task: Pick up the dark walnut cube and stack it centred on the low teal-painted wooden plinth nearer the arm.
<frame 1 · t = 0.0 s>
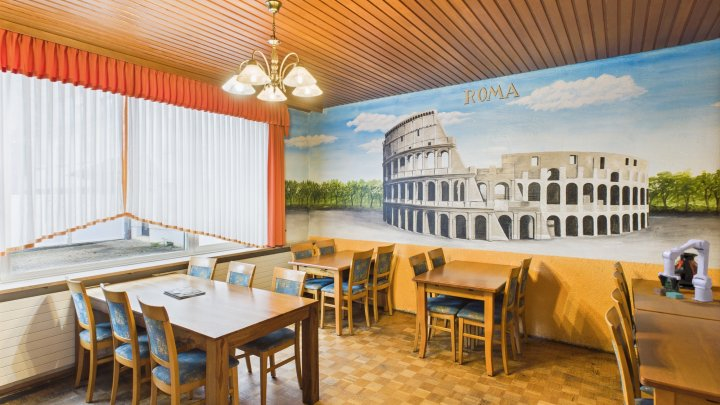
hand: (668, 287, 264), 10 cm above the table, fingers open, 7 cm apart
coffee jar: (671, 292, 291), on the table
teal plinth: (674, 297, 276), on the table
amphora vase: (686, 287, 306), on the table
walnut cube: (659, 294, 283), on the table
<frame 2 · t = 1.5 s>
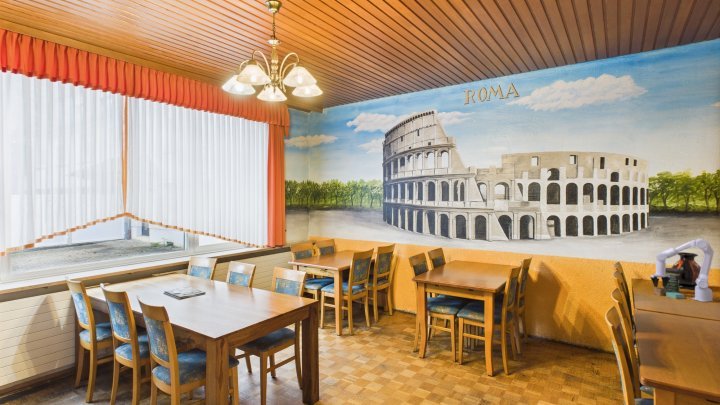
hand: (659, 286, 283), 6 cm above the table, fingers open, 7 cm apart
nothing on the table moved.
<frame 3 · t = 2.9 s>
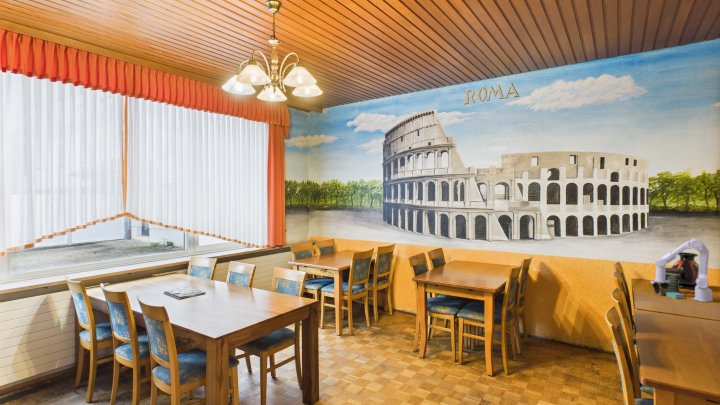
hand: (659, 292, 283), 1 cm above the table, fingers closed on walnut cube, 5 cm apart
walnut cube: (659, 294, 283), on the table, touching gripper
everything else where it was.
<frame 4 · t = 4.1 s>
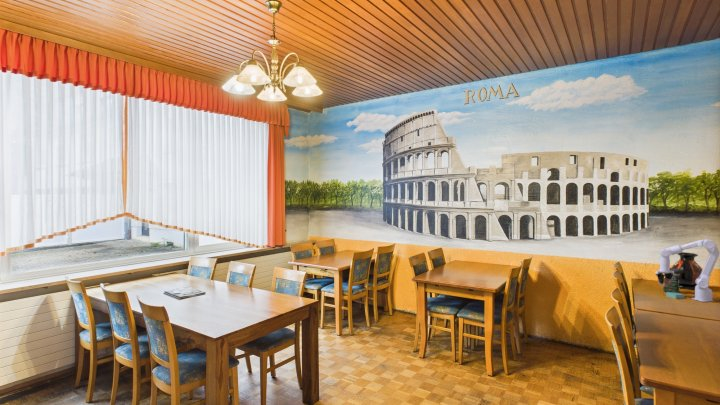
hand: (664, 283, 281), 9 cm above the table, fingers closed on walnut cube, 5 cm apart
walnut cube: (664, 285, 281), point 8 cm above the table, touching gripper
everything else where it was.
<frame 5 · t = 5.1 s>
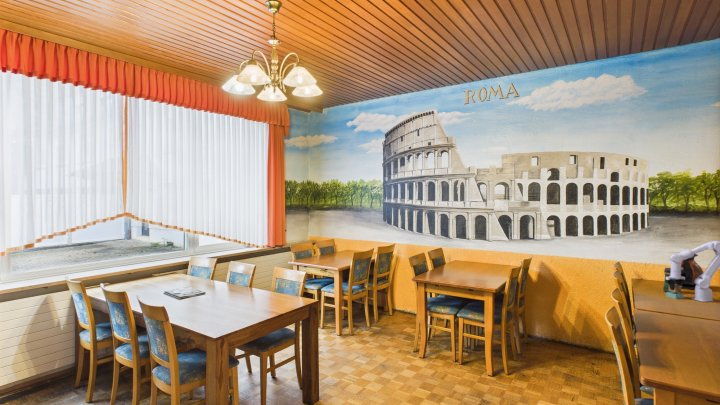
hand: (675, 289, 275), 6 cm above the table, fingers closed on walnut cube, 5 cm apart
walnut cube: (674, 291, 276), point 4 cm above the table, touching gripper
everything else where it was.
when the fingers open (6 cm above the table, at t = 5.7 s): walnut cube stays where it is, resting on teal plinth.
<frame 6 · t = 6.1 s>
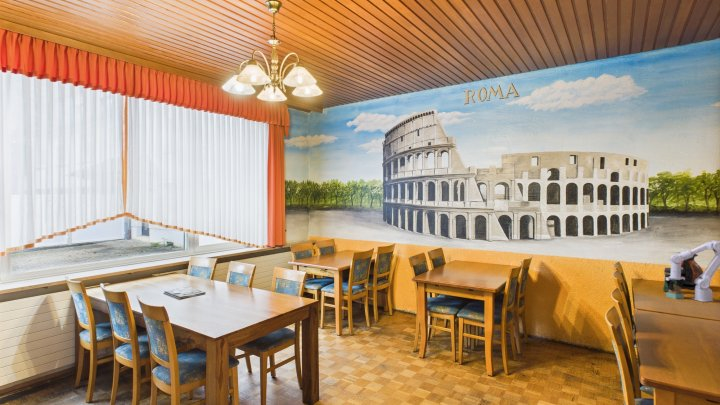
hand: (675, 289, 275), 6 cm above the table, fingers open, 7 cm apart
walnut cube: (674, 293, 276), point 3 cm above the table, touching teal plinth
everything else where it was.
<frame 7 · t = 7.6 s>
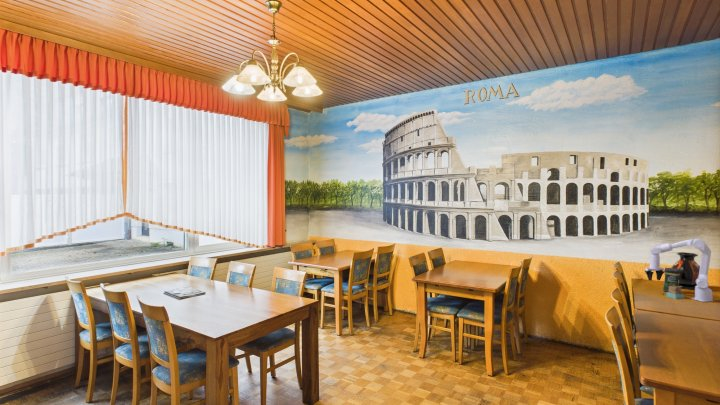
hand: (654, 280, 285), 10 cm above the table, fingers open, 7 cm apart
nothing on the table moved.
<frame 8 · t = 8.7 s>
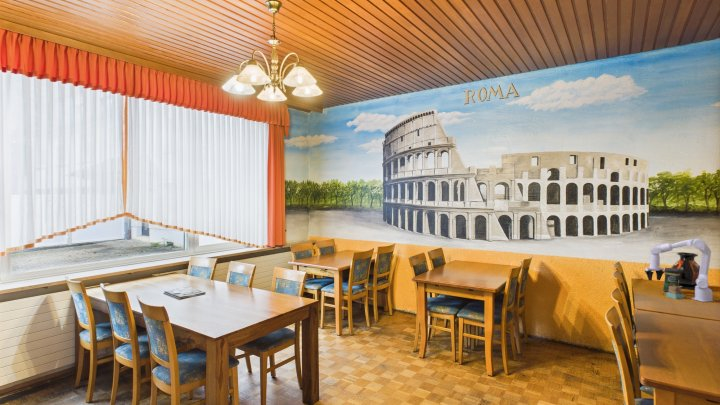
hand: (654, 280, 285), 10 cm above the table, fingers open, 7 cm apart
nothing on the table moved.
at the end: walnut cube 0.2 cm off-centre on the teal plinth, point 3.0 cm above the teal plinth's base; walnut cube tilted 0°; the gripper is holding nothing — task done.
